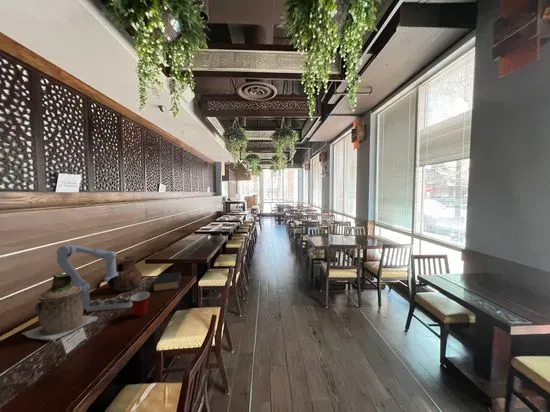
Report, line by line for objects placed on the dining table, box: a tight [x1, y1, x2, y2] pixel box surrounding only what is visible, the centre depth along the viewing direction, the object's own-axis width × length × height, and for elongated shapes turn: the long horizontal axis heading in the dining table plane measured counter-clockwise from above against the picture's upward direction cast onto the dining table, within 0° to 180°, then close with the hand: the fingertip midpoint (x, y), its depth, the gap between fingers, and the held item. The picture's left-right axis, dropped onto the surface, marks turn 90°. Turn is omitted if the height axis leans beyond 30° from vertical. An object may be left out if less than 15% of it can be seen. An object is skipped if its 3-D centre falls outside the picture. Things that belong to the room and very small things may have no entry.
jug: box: [114, 255, 143, 292], centre depth 195 cm, size 22×21×25 cm
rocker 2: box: [103, 297, 116, 303], centre depth 160 cm, size 5×3×2 cm, turn 100°
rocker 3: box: [118, 295, 130, 301], centre depth 161 cm, size 5×3×2 cm, turn 100°
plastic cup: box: [129, 291, 151, 317], centre depth 149 cm, size 11×11×12 cm
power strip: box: [85, 297, 133, 313], centre depth 161 cm, size 26×8×5 cm, turn 100°
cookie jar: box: [21, 272, 98, 343], centre depth 136 cm, size 25×25×32 cm
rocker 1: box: [90, 298, 102, 305], centre depth 158 cm, size 5×3×2 cm, turn 100°
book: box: [153, 271, 182, 292], centre depth 200 cm, size 17×25×7 cm
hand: (112, 288), depth 167 cm, fingers closed
